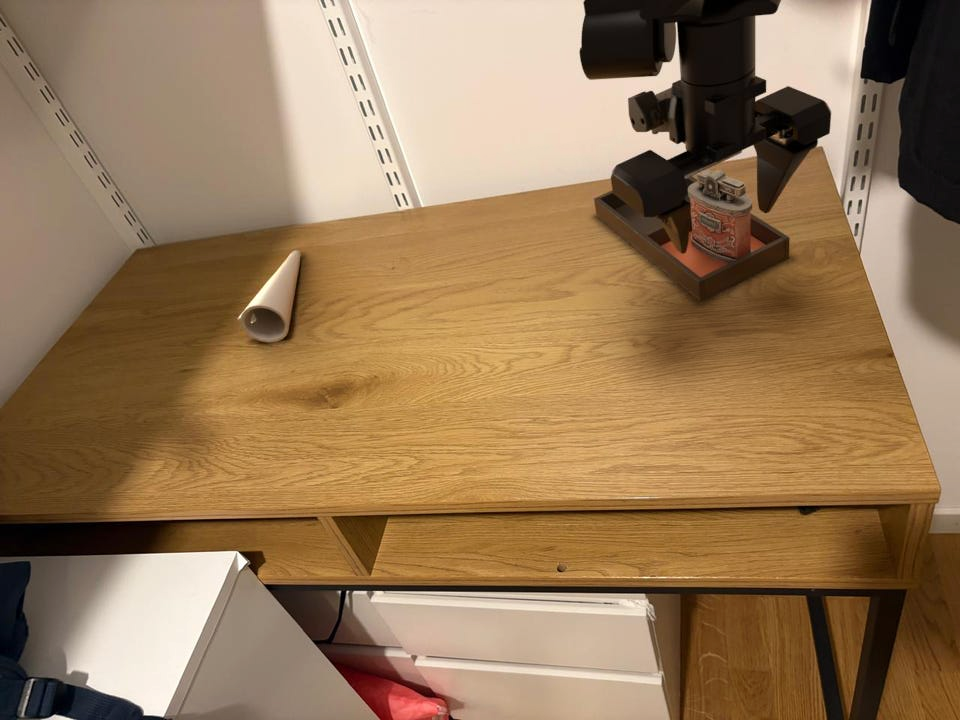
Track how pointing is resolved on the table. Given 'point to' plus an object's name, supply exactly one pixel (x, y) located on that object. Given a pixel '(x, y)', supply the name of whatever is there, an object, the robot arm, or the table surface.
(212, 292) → the table surface
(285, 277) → the long tapered cone
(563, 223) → the table surface
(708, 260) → the divided tray
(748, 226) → the lighter
